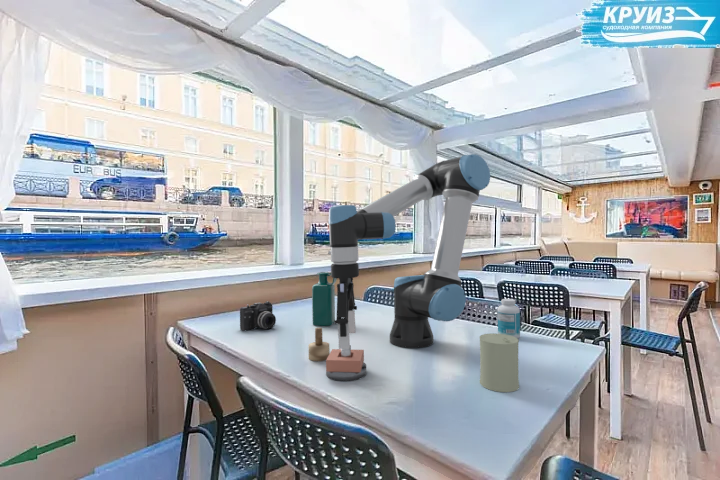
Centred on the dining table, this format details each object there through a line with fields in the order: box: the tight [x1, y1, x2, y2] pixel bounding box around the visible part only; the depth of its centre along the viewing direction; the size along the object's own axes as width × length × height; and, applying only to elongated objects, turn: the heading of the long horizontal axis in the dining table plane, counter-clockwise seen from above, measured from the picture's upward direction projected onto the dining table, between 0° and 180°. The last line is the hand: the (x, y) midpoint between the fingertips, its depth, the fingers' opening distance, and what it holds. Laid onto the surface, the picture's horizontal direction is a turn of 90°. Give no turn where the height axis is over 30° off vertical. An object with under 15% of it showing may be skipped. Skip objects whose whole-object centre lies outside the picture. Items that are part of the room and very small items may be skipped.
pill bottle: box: [497, 298, 521, 340], centre depth 131 cm, size 8×7×14 cm
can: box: [479, 333, 520, 393], centre depth 91 cm, size 9×9×12 cm
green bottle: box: [311, 271, 338, 327], centre depth 155 cm, size 10×8×22 cm
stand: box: [307, 327, 331, 362], centre depth 112 cm, size 6×6×9 cm
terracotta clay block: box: [325, 348, 365, 372], centre depth 99 cm, size 9×9×3 cm
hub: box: [325, 344, 367, 382], centre depth 100 cm, size 11×11×8 cm
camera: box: [239, 300, 277, 332], centre depth 149 cm, size 14×11×10 cm
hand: (347, 340), depth 100 cm, fingers open, 13 cm apart
